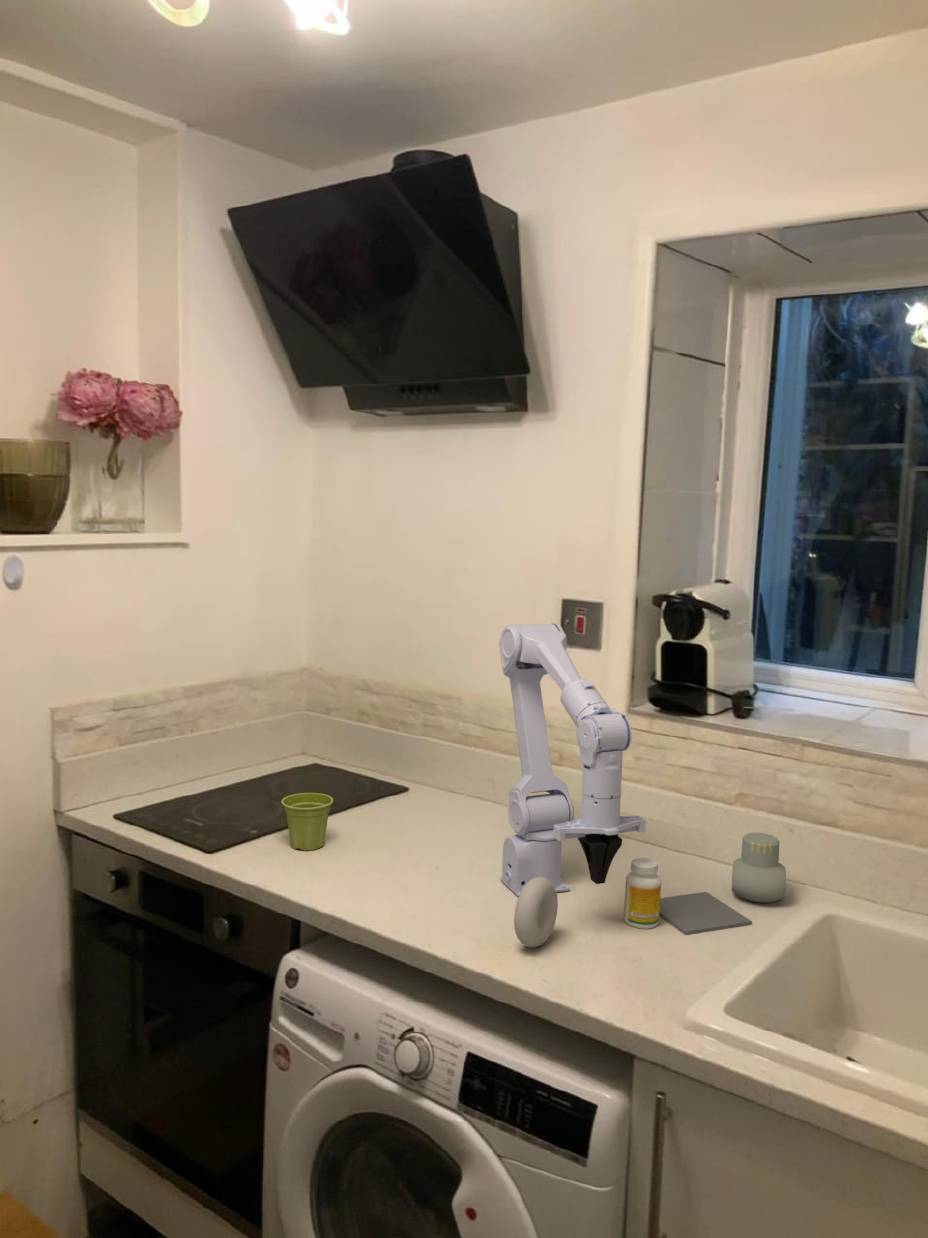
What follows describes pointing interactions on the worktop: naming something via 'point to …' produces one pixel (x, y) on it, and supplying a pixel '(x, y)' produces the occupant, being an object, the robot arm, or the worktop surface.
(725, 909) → the mat
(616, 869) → the worktop surface
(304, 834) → the plant pot
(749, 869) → the air freshener
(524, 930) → the donut
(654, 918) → the supplement bottle
